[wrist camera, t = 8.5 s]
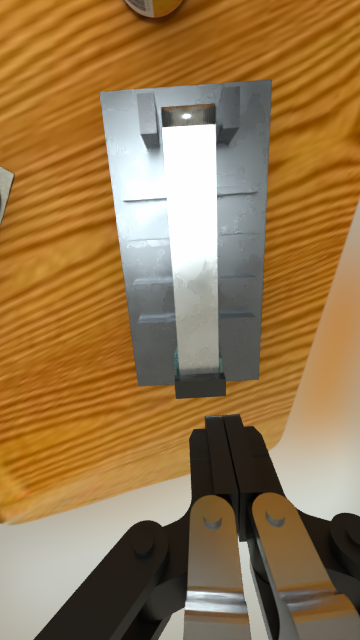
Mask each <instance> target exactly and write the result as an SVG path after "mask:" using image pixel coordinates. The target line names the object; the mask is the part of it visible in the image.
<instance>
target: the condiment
mask: <svg viewBox="0 0 360 640" xmlns="http://www.w3.org/2000/svg"><path fill="white" fill-rule="evenodd" d="M13 176H14V174H13V173H11V172H9V171H7V170H5V169H4V168H2V167H0V223H1V220H2V217H3V213H4V209H5V206H6V202H7V199H8V195H9V190H10V187H11V183H12V180H13Z"/></svg>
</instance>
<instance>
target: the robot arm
mask: <svg viewBox="0 0 360 640" xmlns="http://www.w3.org/2000/svg"><path fill="white" fill-rule="evenodd" d="M189 444H190V467H191V490H192V500H191V504H190V507H189V509H188V511H187V512H186V514H185V515H184V516H183V517H182V518H180V519H179V520H177V521H175V522H173V523H171V524H169V525H166V526H164V527H162V526H161V525H160V524H158V523H157V522H154V521H150V520H147V521H141V522H138V523H136V524H134V525H133V526H132V527H131V528H130V529H129V530H128V531H127V532H126V533H125V534H124V535H123V537H122V538H121V539H120V540H119V541H118V542H117V544H116V545H115V546H114V547H113V548H112V549H111V550H110V552H109V553H108V554H107V555H106V556H105V557H104V559H103V560H102V561H101V562H100V563H99V564H98V566H97V567H96V568H95V569H94V570H93V571H92V572H91V574H90V575H89V576H88V577H87V579H85V581H84V582H83V583H82V584H81V585H80V586H79V588H78V589H77V590H76V591H75V592H74V593H73V595H72V596H71V597H70V598H69V599H68V600H67V602H66V603H65V604H64V605H63V606H62V607H61V609H60V610H59V611H58V612H57V613H56V615H54V617H53V618H52V619H51V620H50V621H49V623H48V624H47V625H46V626H45V627H44V628H43V630H42V631H41V632H40V633H39V634H38V635H37V636H36V637H35V639H34V640H158V639H159V637H160V635H161V633H162V632H163V630H164V628H165V626H166V625H167V623H168V621H169V620H170V617H171V615H172V614H173V613H174V612H176V611H178V610H180V609H182V608H184V607H185V614H184V636H183V640H251V633H250V624H249V616H248V610H247V605H246V602H245V598H244V592H243V583H242V574H241V565H240V557H239V548H238V536H239V541H240V542H243V541H244V542H245V541H247V543H248V548H249V553H250V570H251V574H252V578H253V582H254V586H255V589H256V593H257V597H258V601H259V605H260V608H261V612H262V616H263V620H264V623H265V627H266V631H267V635H268V639H269V640H360V517H359V516H357V515H355V514H351V513H340V514H337V515H336V516H334V517H333V519H332V521H328V520H324V519H321V518H317V517H314V516H310V515H307V514H305V513H303V512H302V511H300V510H298V509H297V508H296V507H294V505H293V504H292V503H291V502H290V501H289V500H288V499H287V498H286V496H285V494H284V492H283V489H282V487H281V484H280V482H279V479H278V477H277V474H276V471H275V469H274V466H273V463H272V461H271V458H270V457H269V453H268V450H267V448H266V445H265V442H264V440H263V437H262V435H261V434H260V433H259V432H258V431H257V430H256V429H255V428H254V426H248V427H243V423H242V420H241V417H240V415H239V414H233V415H222V416H221V415H215V416H205V429H194V430H193V432H192V434H191V436H190V438H189Z"/></svg>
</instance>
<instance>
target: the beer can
mask: <svg viewBox="0 0 360 640" xmlns="http://www.w3.org/2000/svg"><path fill="white" fill-rule="evenodd" d="M182 1H183V0H125V2H126V3H127V4H128V5H129V6H130V7H131V8H132V9H133V10H135V11H136V12H137V13H139V14H141V15H144V16H147V17H154V18H155V17H162V16H165V15H167V14H169V13H171V12H172V11H173V10H175V9H176V8H177V7H178V6H179V5H180V3H181V2H182Z"/></svg>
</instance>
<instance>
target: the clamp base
mask: <svg viewBox="0 0 360 640" xmlns="http://www.w3.org/2000/svg"><path fill="white" fill-rule="evenodd" d="M271 90H272V80H260V81H246V82H232V83H218V84H204V85H190V86H176V87H162V88H148V89H134V90H120V91H106V92H100V99H101V107H102V114H103V122H104V130H105V137H106V145H107V152H108V160H109V168H110V175H111V183H112V190H113V198H114V205H115V213H116V221H117V228H118V236H119V243H120V251H121V259H122V266H123V274H124V281H125V289H126V296H127V304H128V312H129V319H130V327H131V334H132V342H133V350H134V357H135V365H136V372H137V380H138V386H152V385H170V384H175V375H180V372H179V358H178V343H177V329H176V315H175V300H174V286H173V272H172V257H171V243H170V229H169V215H168V200H167V186H166V172H165V157H164V143H163V129H162V116H161V107H169V106H183V105H197V104H212V103H215V105H216V192H217V270H218V347H219V373H222V372H224V375H225V378H226V381H242V380H259V360H260V337H261V315H262V292H263V270H264V247H265V225H266V202H267V180H268V157H269V135H270V113H271Z"/></svg>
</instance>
